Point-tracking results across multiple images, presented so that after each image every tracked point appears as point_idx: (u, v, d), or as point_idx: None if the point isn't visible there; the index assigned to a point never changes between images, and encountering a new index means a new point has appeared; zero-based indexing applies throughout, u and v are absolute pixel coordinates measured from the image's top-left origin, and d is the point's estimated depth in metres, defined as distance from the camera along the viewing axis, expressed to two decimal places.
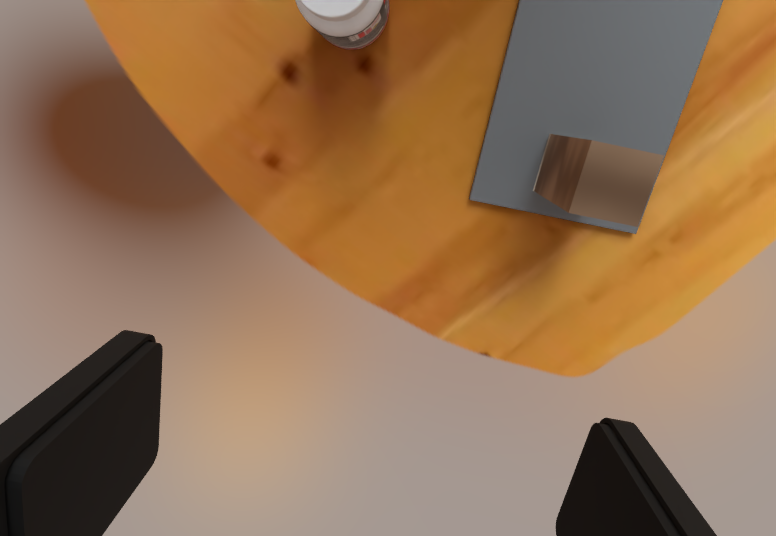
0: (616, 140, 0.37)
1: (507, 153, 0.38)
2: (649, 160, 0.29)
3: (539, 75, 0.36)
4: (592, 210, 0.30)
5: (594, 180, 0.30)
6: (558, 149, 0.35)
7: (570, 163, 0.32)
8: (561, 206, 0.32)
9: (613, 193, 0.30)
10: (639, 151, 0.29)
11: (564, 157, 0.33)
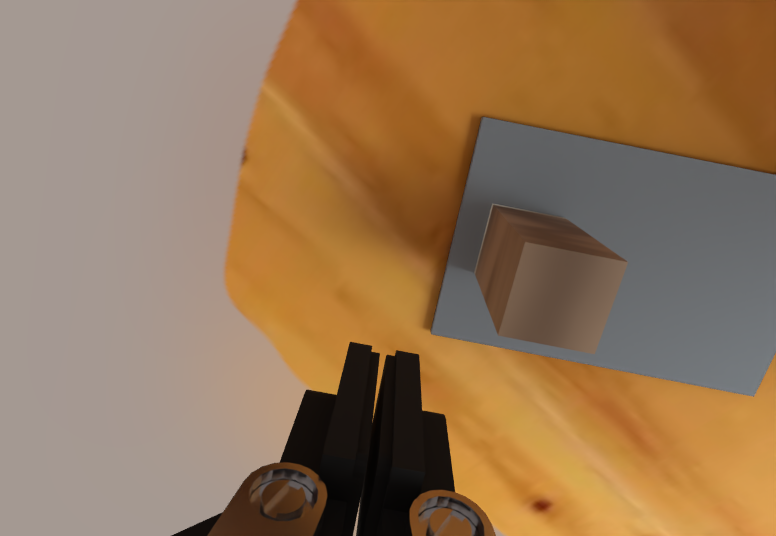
0: None
1: (544, 165, 0.28)
2: (590, 337, 0.22)
3: (639, 198, 0.29)
4: (526, 274, 0.21)
5: (570, 272, 0.21)
6: (566, 227, 0.26)
7: (572, 240, 0.23)
8: (519, 233, 0.22)
9: (548, 299, 0.21)
10: (604, 324, 0.21)
11: (568, 233, 0.24)
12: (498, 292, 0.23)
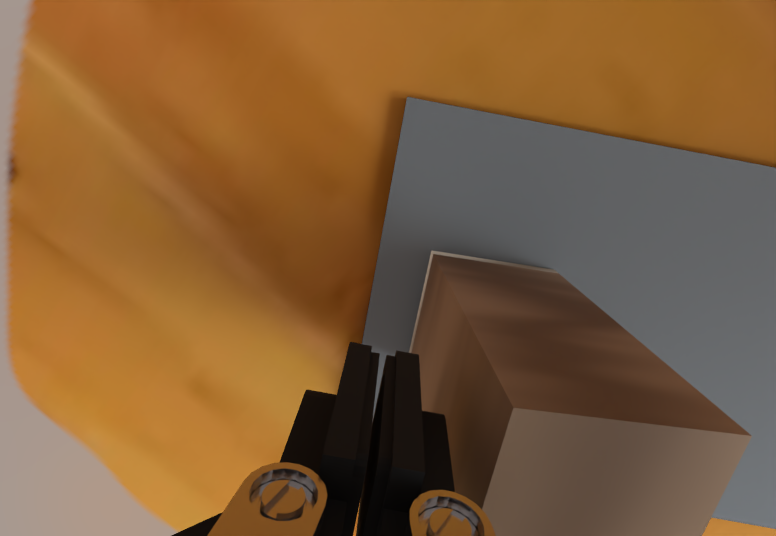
0: None
1: (517, 181, 0.16)
2: None
3: (681, 236, 0.17)
4: (516, 476, 0.09)
5: (618, 466, 0.09)
6: (568, 303, 0.14)
7: (601, 357, 0.11)
8: (493, 361, 0.10)
9: (568, 523, 0.09)
10: None
11: (583, 328, 0.12)
12: None
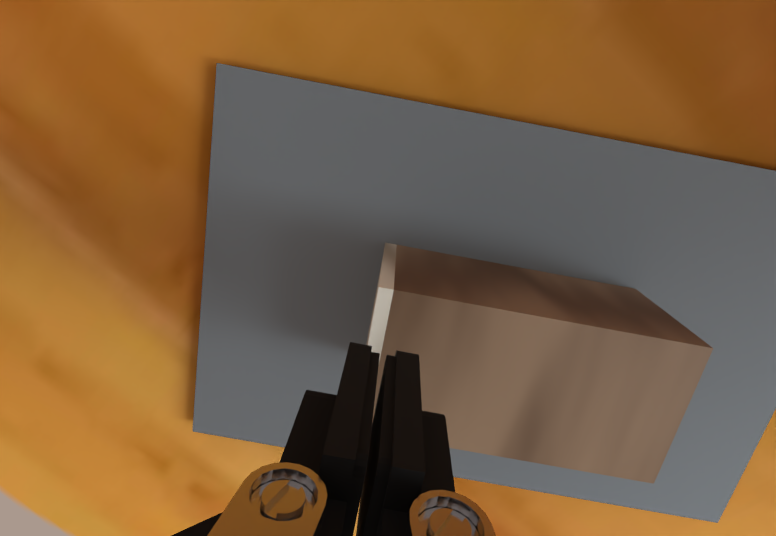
0: None
1: (337, 151, 0.16)
2: None
3: (508, 207, 0.16)
4: None
5: None
6: (483, 268, 0.16)
7: (586, 293, 0.15)
8: (654, 336, 0.13)
9: None
10: None
11: (538, 282, 0.16)
12: (602, 433, 0.14)
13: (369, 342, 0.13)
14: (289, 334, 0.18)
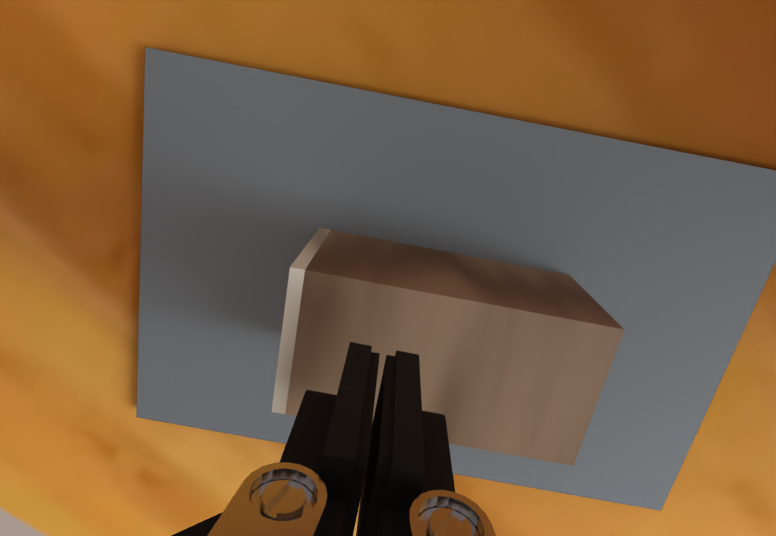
0: None
1: (268, 135, 0.16)
2: None
3: (440, 192, 0.16)
4: None
5: None
6: (413, 252, 0.16)
7: (513, 277, 0.15)
8: (565, 317, 0.13)
9: None
10: None
11: (466, 266, 0.16)
12: (519, 414, 0.14)
13: (284, 322, 0.13)
14: (228, 320, 0.18)
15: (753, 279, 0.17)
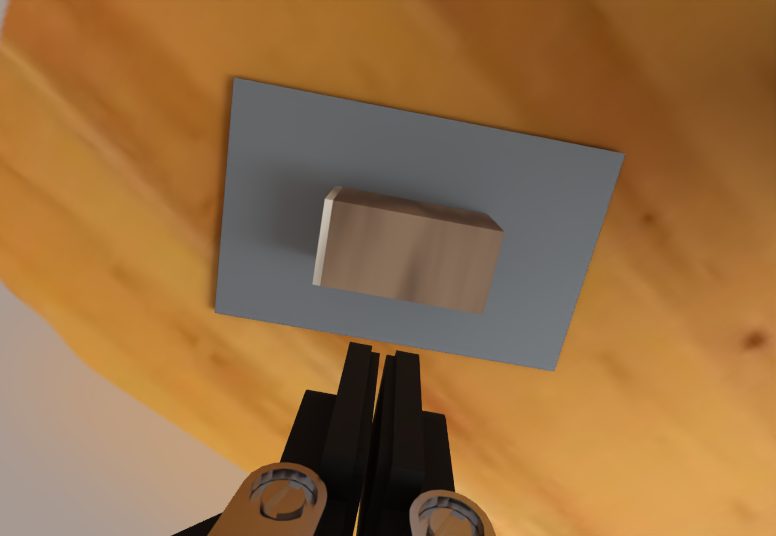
0: None
1: (305, 129, 0.27)
2: None
3: (408, 163, 0.27)
4: None
5: None
6: (392, 199, 0.27)
7: (450, 212, 0.26)
8: (473, 225, 0.24)
9: None
10: None
11: (423, 206, 0.27)
12: (451, 283, 0.25)
13: (320, 230, 0.24)
14: (277, 245, 0.29)
15: (597, 215, 0.28)
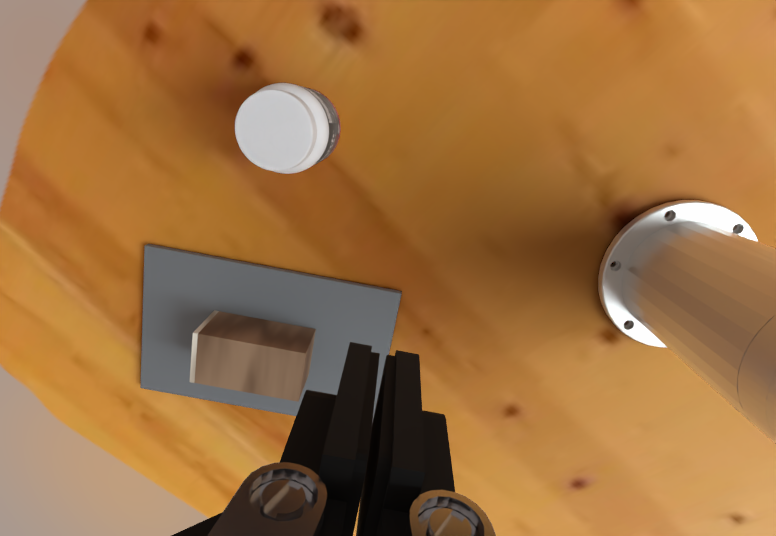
0: None
1: (192, 276, 0.41)
2: (309, 368, 0.43)
3: (260, 297, 0.42)
4: (304, 366, 0.39)
5: (309, 350, 0.40)
6: (248, 321, 0.41)
7: (284, 332, 0.41)
8: (286, 349, 0.38)
9: (306, 368, 0.40)
10: None
11: (267, 327, 0.41)
12: (276, 383, 0.39)
13: None
14: (179, 346, 0.43)
15: (388, 331, 0.42)
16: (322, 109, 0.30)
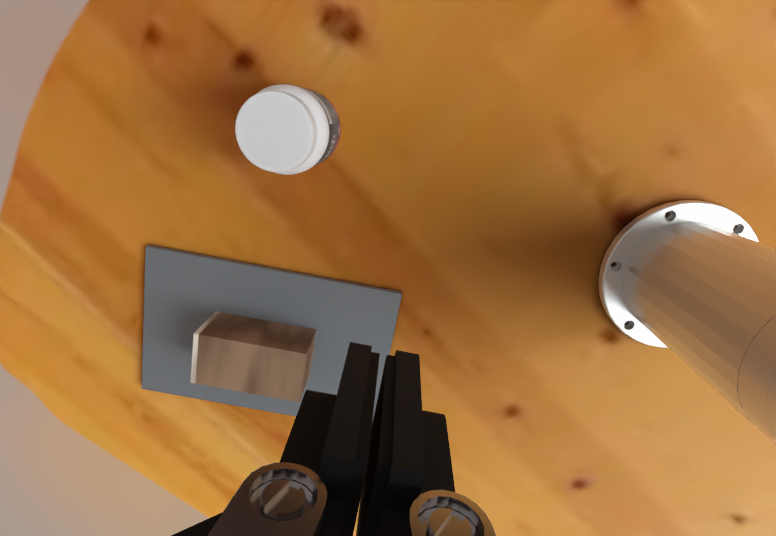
0: None
1: (193, 277, 0.41)
2: (309, 369, 0.43)
3: (261, 298, 0.42)
4: (305, 366, 0.39)
5: (310, 351, 0.41)
6: (249, 322, 0.41)
7: (285, 332, 0.41)
8: (287, 350, 0.38)
9: (306, 368, 0.40)
10: (311, 359, 0.43)
11: (268, 328, 0.41)
12: (277, 383, 0.39)
13: None
14: (180, 347, 0.43)
15: (388, 331, 0.42)
16: (322, 110, 0.31)
